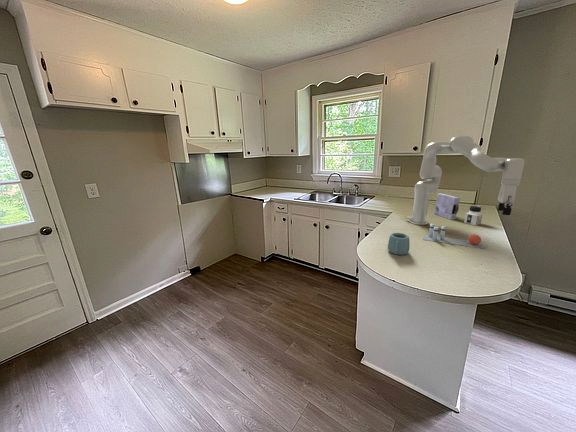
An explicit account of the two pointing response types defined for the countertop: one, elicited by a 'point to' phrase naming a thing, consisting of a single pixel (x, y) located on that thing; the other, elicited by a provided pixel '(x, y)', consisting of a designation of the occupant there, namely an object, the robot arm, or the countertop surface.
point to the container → (474, 215)
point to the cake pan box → (446, 206)
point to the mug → (398, 244)
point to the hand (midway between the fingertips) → (503, 212)
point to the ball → (474, 239)
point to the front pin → (442, 232)
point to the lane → (453, 241)
